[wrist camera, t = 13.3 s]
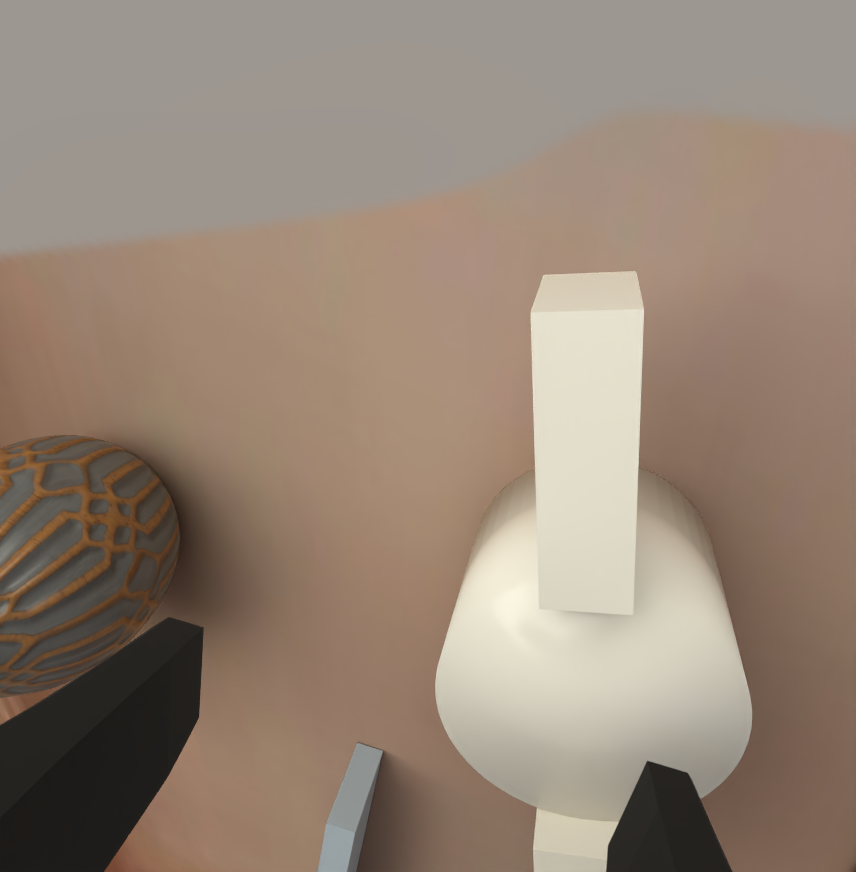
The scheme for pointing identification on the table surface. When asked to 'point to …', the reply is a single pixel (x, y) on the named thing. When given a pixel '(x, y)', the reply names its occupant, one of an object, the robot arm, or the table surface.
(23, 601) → the vase
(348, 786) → the holder
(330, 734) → the table surface
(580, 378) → the cream egg with arms
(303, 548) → the table surface
